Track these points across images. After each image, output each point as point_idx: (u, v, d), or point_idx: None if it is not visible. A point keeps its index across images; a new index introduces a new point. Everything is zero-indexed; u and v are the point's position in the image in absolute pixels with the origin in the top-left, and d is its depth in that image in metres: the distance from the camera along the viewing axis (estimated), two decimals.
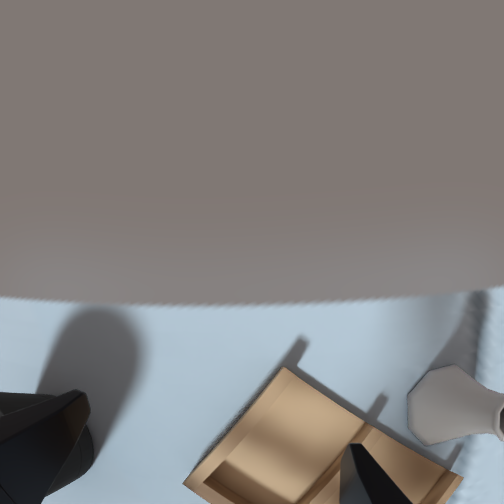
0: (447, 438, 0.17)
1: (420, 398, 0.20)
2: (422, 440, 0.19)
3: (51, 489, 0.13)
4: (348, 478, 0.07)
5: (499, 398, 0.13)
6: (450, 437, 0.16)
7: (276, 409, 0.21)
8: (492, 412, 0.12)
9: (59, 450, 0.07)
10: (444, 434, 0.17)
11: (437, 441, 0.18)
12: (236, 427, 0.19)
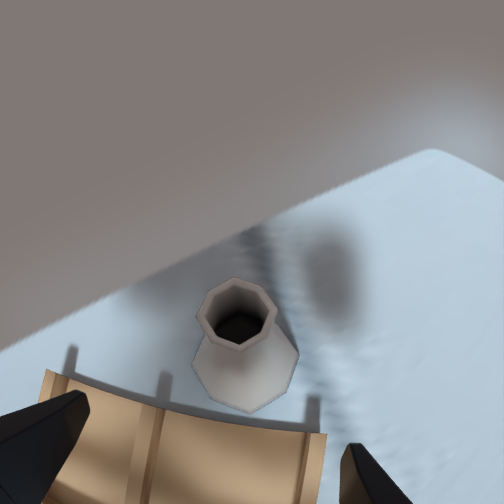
0: (243, 391, 0.17)
1: (194, 360, 0.19)
2: (238, 408, 0.19)
3: None
4: (348, 478, 0.07)
5: (217, 304, 0.14)
6: (242, 388, 0.17)
7: None
8: None
9: (59, 450, 0.07)
10: (236, 388, 0.17)
11: (245, 401, 0.18)
12: None
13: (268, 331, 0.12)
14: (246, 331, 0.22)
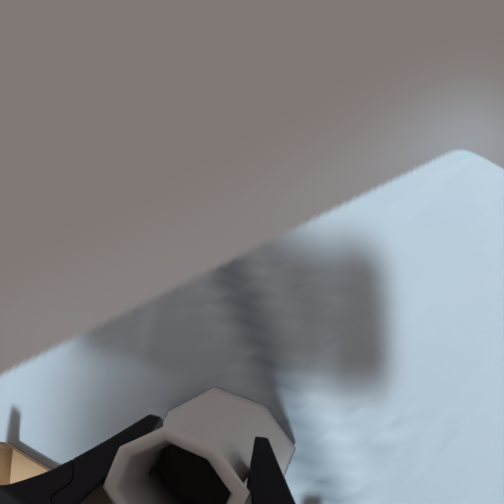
0: None
1: None
2: None
3: None
4: None
5: (145, 452, 0.06)
6: None
7: None
8: (127, 485, 0.06)
9: None
10: None
11: None
12: None
13: None
14: None
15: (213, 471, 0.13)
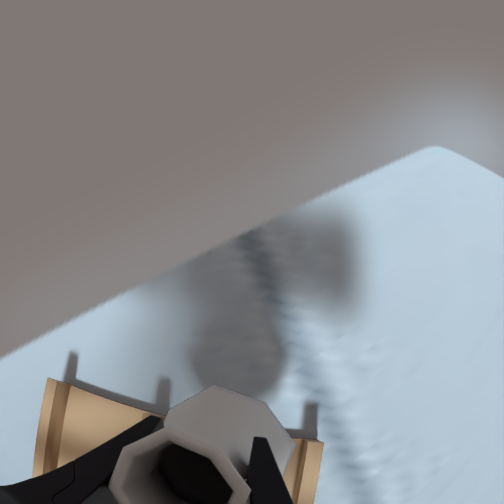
0: None
1: None
2: None
3: None
4: (247, 472, 0.07)
5: None
6: None
7: (70, 422, 0.18)
8: (131, 485, 0.06)
9: None
10: None
11: None
12: (37, 442, 0.15)
13: None
14: None
15: (214, 468, 0.13)
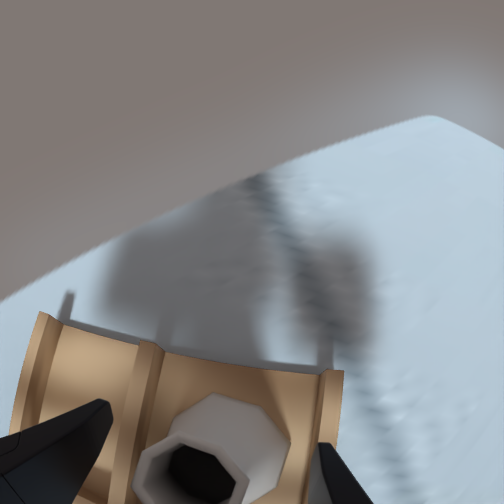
0: None
1: None
2: None
3: None
4: (315, 478, 0.07)
5: (162, 454, 0.08)
6: None
7: (59, 365, 0.17)
8: (149, 483, 0.07)
9: (83, 462, 0.07)
10: (212, 503, 0.11)
11: None
12: (19, 385, 0.14)
13: None
14: None
15: (218, 469, 0.14)
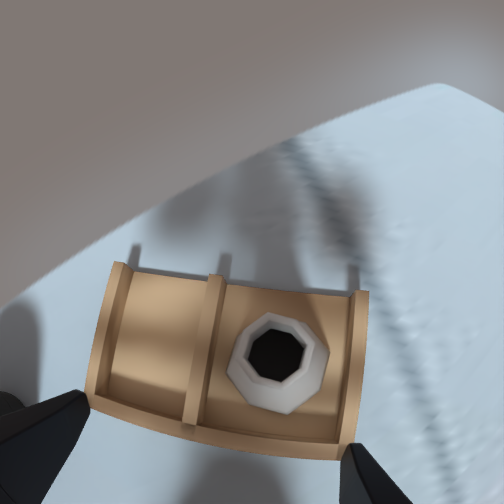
0: (281, 401, 0.17)
1: (229, 370, 0.20)
2: (276, 411, 0.19)
3: None
4: (348, 478, 0.07)
5: (252, 336, 0.14)
6: (280, 399, 0.17)
7: (132, 305, 0.24)
8: None
9: (59, 450, 0.07)
10: (273, 398, 0.17)
11: (283, 407, 0.18)
12: (97, 326, 0.22)
13: (308, 366, 0.12)
14: (276, 333, 0.22)
15: (273, 377, 0.21)
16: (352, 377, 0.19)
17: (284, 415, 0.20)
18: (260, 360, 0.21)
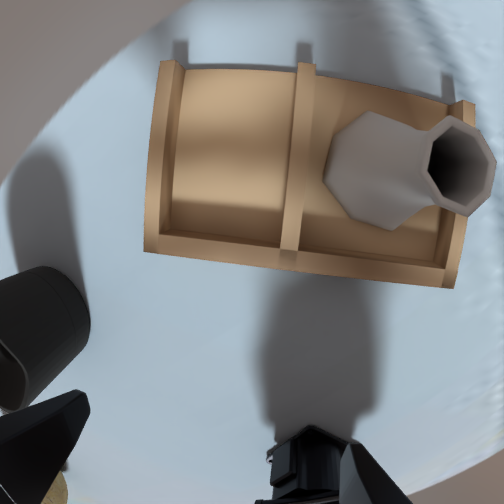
0: (403, 217, 0.15)
1: (334, 178, 0.16)
2: (381, 226, 0.18)
3: (43, 353, 0.17)
4: (348, 478, 0.07)
5: None
6: (405, 215, 0.14)
7: (190, 110, 0.18)
8: None
9: (59, 450, 0.07)
10: (394, 214, 0.15)
11: (397, 223, 0.16)
12: (150, 145, 0.17)
13: (490, 189, 0.08)
14: None
15: None
16: None
17: (387, 231, 0.18)
18: None
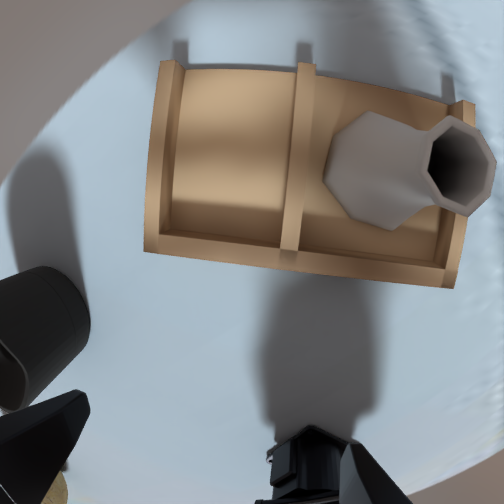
0: (403, 217, 0.15)
1: (334, 178, 0.16)
2: (381, 226, 0.18)
3: (43, 353, 0.17)
4: (348, 478, 0.07)
5: None
6: (405, 215, 0.14)
7: (190, 110, 0.18)
8: None
9: (59, 450, 0.07)
10: (394, 214, 0.15)
11: (397, 223, 0.16)
12: (150, 145, 0.17)
13: (490, 189, 0.08)
14: None
15: None
16: None
17: (387, 231, 0.18)
18: None
